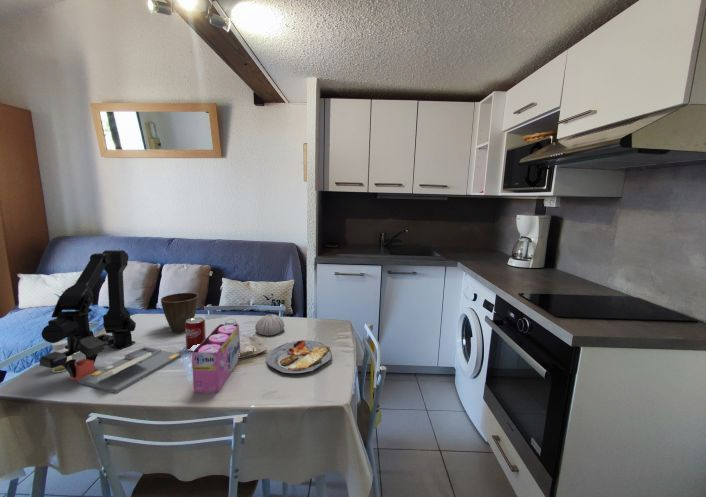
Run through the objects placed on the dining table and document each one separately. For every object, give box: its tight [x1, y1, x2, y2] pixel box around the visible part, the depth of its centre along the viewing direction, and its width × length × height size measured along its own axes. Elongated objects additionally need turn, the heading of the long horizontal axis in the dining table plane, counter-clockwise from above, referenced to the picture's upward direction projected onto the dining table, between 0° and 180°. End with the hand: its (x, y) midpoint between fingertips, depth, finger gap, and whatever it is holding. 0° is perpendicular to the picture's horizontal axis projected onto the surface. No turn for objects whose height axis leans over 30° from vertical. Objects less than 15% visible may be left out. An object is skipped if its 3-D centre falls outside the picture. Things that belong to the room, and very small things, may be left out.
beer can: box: [223, 318, 238, 326], centre depth 123 cm, size 5×5×12 cm
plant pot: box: [160, 292, 199, 334], centre depth 140 cm, size 15×15×16 cm
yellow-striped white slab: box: [97, 352, 152, 381], centre depth 101 cm, size 8×13×1 cm, turn 163°
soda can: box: [184, 316, 207, 350], centre depth 123 cm, size 7×7×12 cm
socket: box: [124, 345, 162, 363], centre depth 114 cm, size 8×8×1 cm
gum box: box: [191, 323, 241, 393], centre depth 106 cm, size 24×8×14 cm, turn 3°
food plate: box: [265, 339, 333, 374], centre depth 117 cm, size 25×23×4 cm
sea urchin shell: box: [255, 314, 285, 336], centre depth 142 cm, size 13×14×8 cm
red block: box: [69, 357, 96, 382], centre depth 102 cm, size 4×4×6 cm
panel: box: [78, 349, 182, 394], centre depth 107 cm, size 17×24×3 cm
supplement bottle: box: [49, 339, 68, 374], centre depth 105 cm, size 5×5×10 cm
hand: (82, 373), depth 102 cm, fingers closed on red block, 4 cm apart
